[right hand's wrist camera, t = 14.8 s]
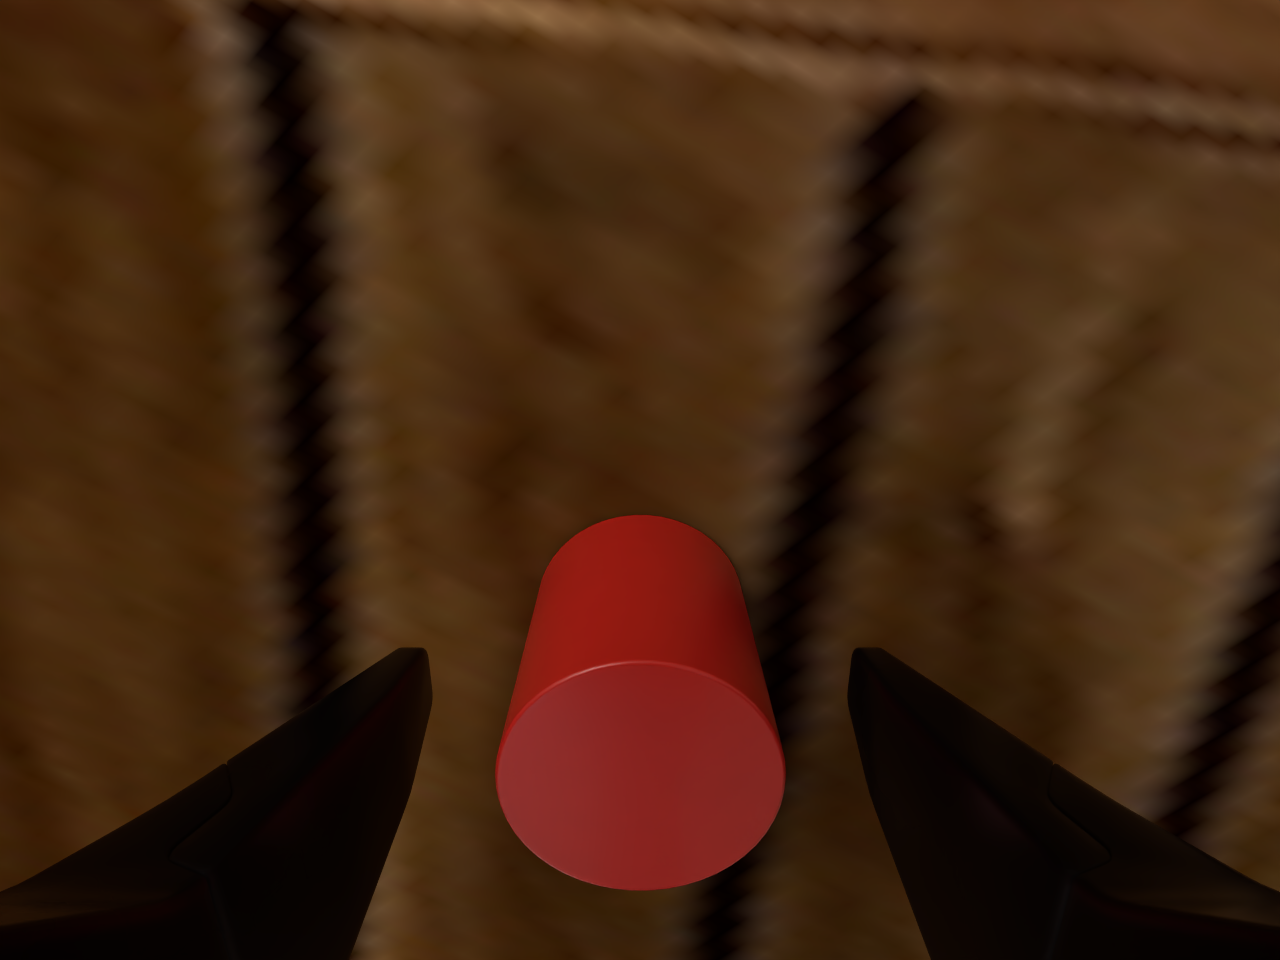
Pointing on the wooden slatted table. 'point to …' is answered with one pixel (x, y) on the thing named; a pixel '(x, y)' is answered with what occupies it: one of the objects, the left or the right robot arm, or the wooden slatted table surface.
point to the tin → (640, 713)
